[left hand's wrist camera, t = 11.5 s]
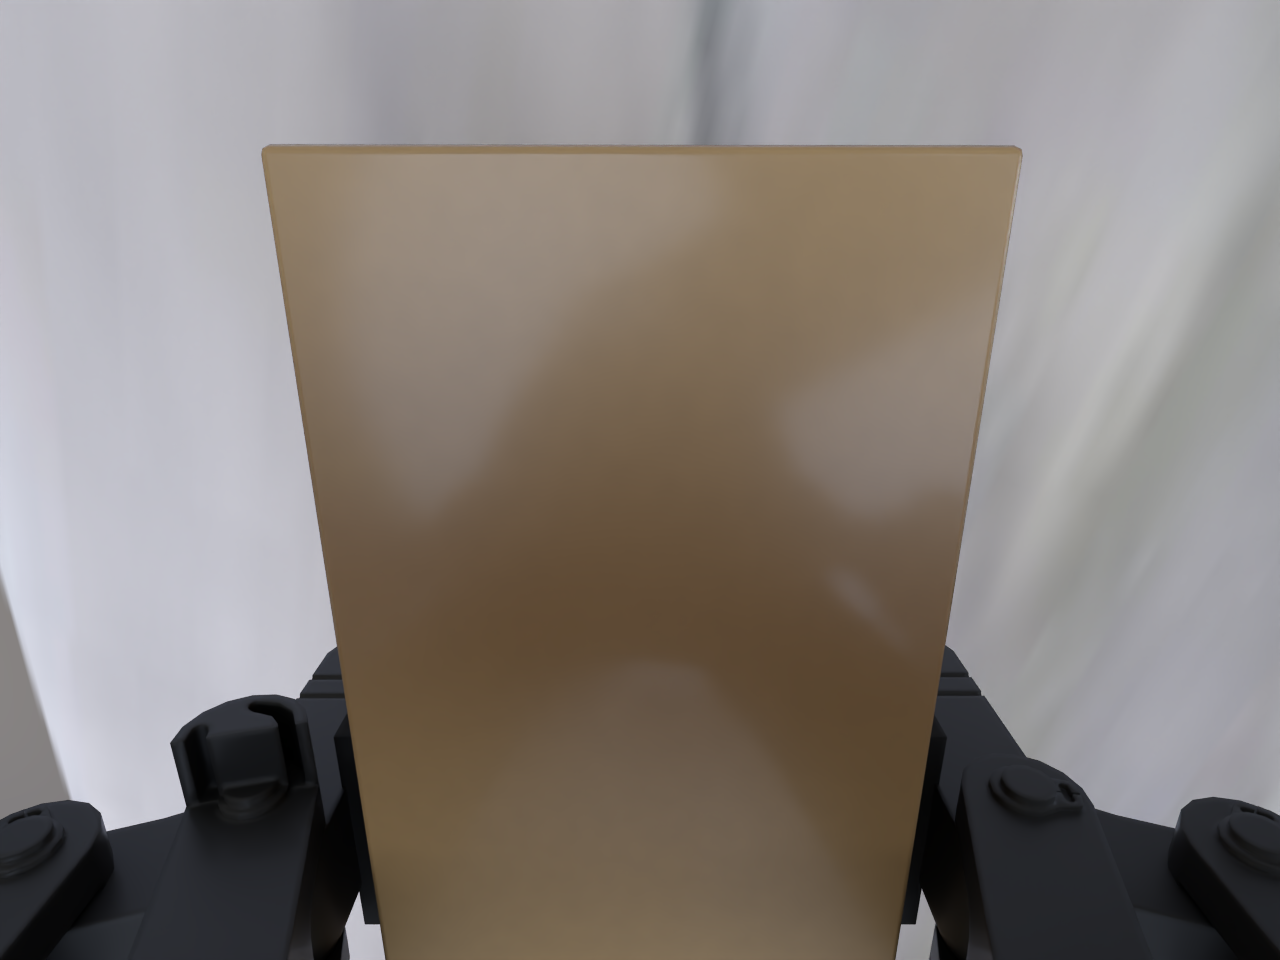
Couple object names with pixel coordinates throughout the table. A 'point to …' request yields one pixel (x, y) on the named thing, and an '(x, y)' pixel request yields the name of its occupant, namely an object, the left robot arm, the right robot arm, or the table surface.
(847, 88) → the table surface
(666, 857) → the bar
